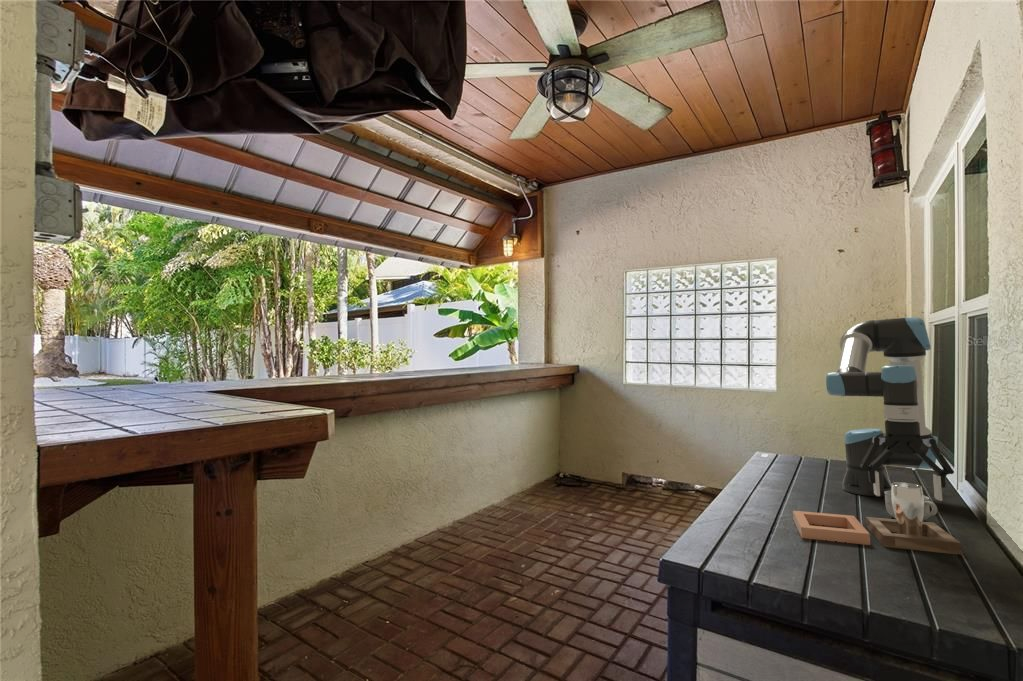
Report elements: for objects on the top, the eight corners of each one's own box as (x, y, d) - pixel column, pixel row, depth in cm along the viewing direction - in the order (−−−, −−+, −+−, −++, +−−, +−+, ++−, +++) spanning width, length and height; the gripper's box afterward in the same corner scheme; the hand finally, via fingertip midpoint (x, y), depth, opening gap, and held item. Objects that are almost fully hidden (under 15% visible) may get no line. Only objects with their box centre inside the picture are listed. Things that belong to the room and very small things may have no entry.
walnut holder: (866, 527, 140) (865, 516, 140) (934, 533, 133) (933, 522, 133) (884, 546, 125) (883, 535, 125) (961, 554, 119) (960, 542, 119)
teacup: (877, 514, 150) (875, 489, 151) (911, 514, 150) (910, 488, 150) (913, 530, 136) (911, 502, 137) (951, 529, 136) (949, 501, 137)
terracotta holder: (793, 520, 147) (792, 510, 148) (854, 525, 141) (853, 515, 141) (801, 537, 133) (801, 527, 133) (870, 545, 126) (869, 533, 126)
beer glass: (933, 545, 125) (929, 488, 126) (903, 544, 126) (899, 488, 127) (916, 535, 132) (912, 482, 133) (888, 534, 133) (884, 481, 134)
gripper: (851, 420, 133) (856, 496, 131) (966, 422, 123) (972, 505, 121) (844, 417, 139) (849, 489, 138) (952, 419, 129) (959, 497, 128)
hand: (907, 497), depth 130 cm, fingers open, 13 cm apart
